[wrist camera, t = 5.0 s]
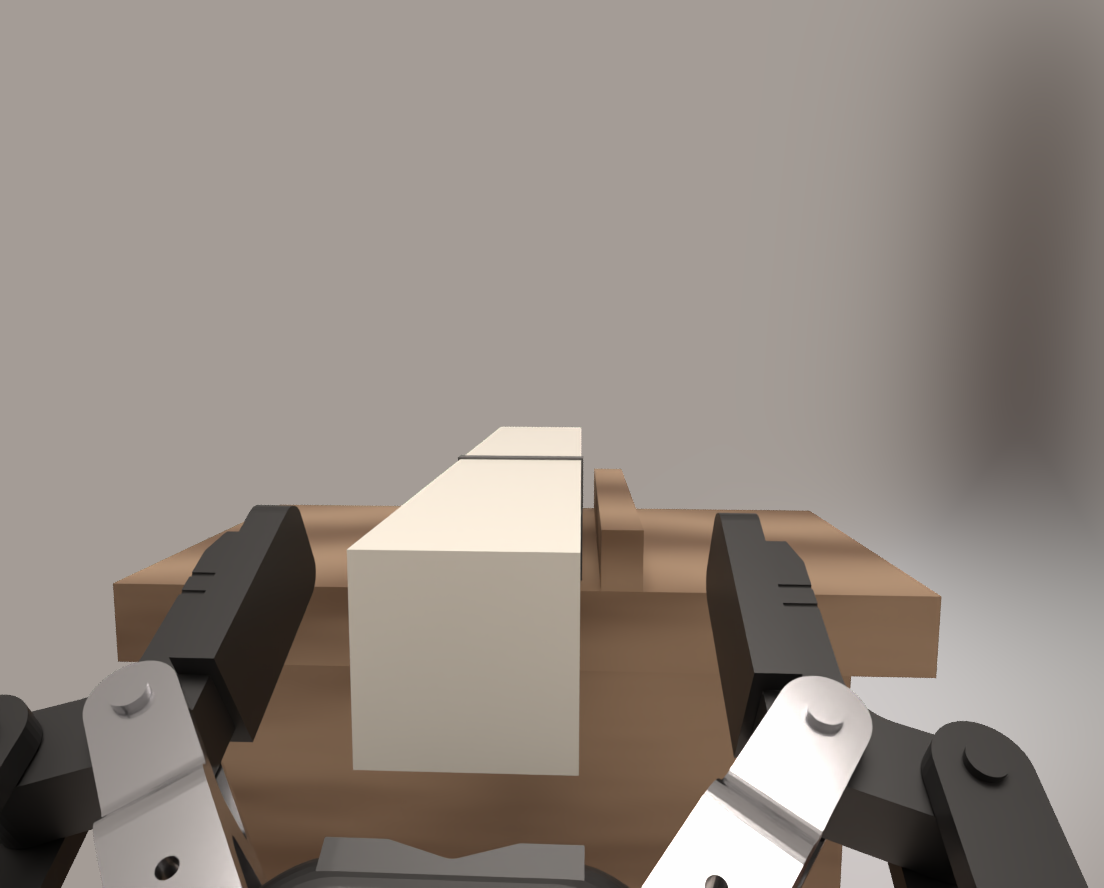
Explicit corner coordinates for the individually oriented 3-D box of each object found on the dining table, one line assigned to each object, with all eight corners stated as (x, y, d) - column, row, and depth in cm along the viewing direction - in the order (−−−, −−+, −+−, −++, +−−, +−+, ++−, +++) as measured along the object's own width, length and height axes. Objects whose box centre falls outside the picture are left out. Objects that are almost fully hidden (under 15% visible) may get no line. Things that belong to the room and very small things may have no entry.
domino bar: (582, 779, 10) (584, 548, 9) (349, 773, 10) (343, 545, 9) (581, 507, 27) (582, 426, 27) (500, 507, 28) (499, 425, 27)
